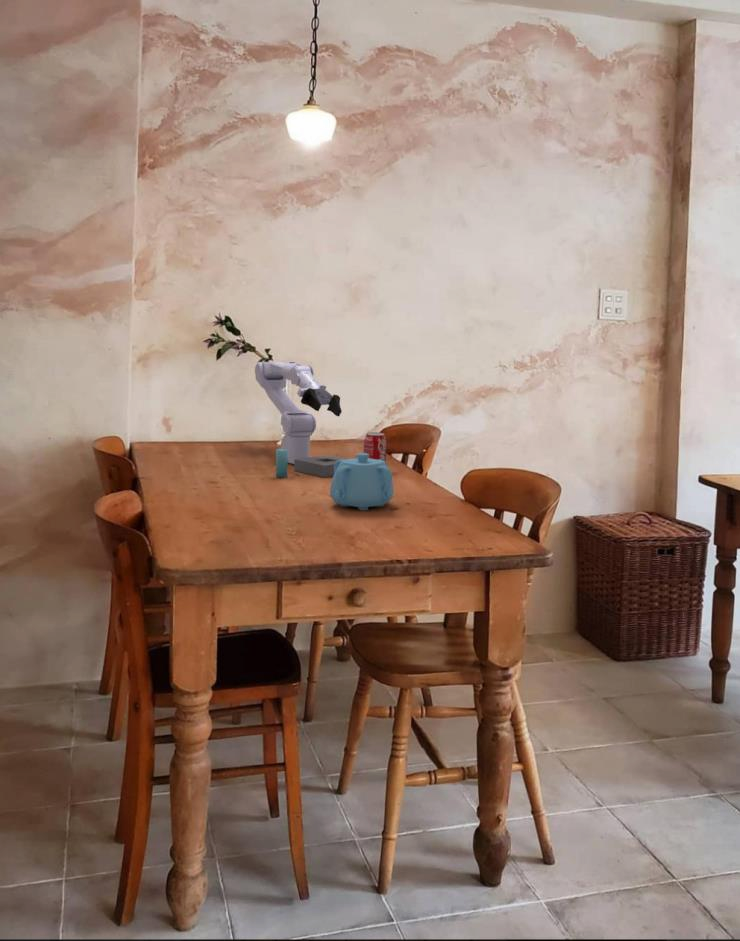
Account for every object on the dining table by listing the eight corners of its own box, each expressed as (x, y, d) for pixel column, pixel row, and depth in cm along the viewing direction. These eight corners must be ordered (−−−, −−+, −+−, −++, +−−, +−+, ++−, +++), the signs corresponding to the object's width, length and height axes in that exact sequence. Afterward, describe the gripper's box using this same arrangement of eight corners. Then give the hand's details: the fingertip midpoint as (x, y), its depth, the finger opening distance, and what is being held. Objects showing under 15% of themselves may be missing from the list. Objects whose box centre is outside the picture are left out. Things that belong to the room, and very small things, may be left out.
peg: (273, 476, 277) (273, 449, 275) (282, 474, 279) (282, 448, 277) (280, 477, 274) (281, 451, 273) (289, 476, 276) (289, 450, 275)
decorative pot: (332, 498, 248) (333, 448, 245) (392, 499, 247) (393, 449, 245) (328, 511, 232) (328, 458, 229) (392, 513, 231) (393, 459, 229)
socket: (294, 470, 286) (294, 459, 286) (328, 466, 296) (328, 455, 295) (324, 477, 276) (324, 465, 276) (358, 472, 286) (358, 461, 285)
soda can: (386, 470, 291) (387, 432, 289) (384, 474, 284) (385, 435, 282) (364, 469, 292) (365, 431, 290) (361, 473, 285) (362, 434, 283)
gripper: (298, 372, 283) (315, 394, 274) (336, 383, 292) (354, 405, 282) (288, 391, 286) (305, 414, 276) (326, 402, 295) (344, 424, 285)
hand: (329, 411), depth 279 cm, fingers open, 7 cm apart
